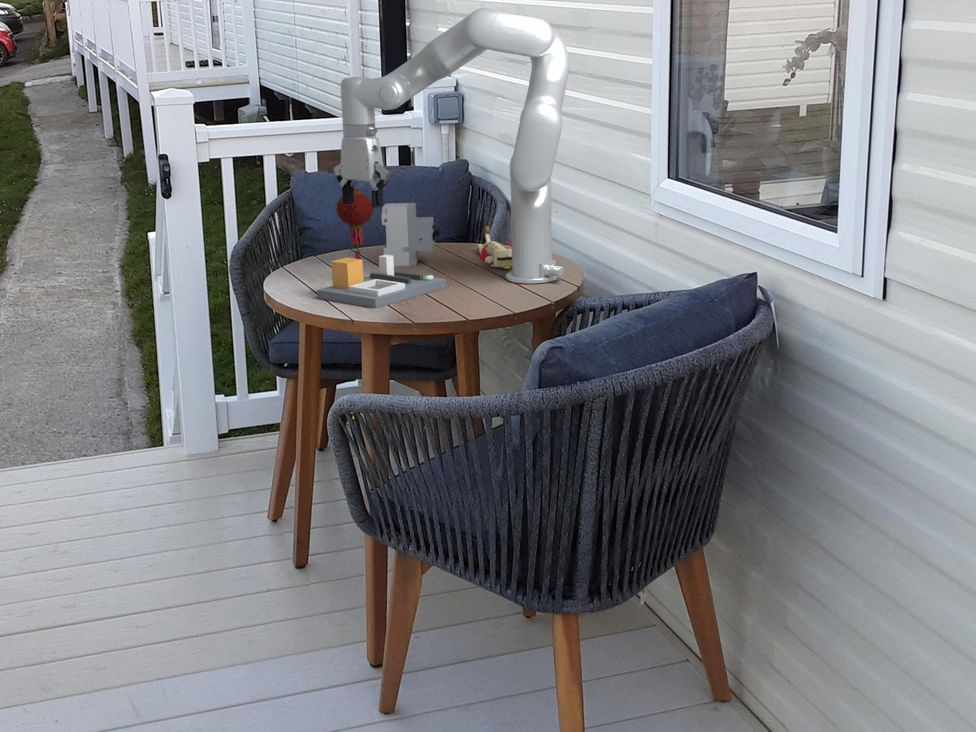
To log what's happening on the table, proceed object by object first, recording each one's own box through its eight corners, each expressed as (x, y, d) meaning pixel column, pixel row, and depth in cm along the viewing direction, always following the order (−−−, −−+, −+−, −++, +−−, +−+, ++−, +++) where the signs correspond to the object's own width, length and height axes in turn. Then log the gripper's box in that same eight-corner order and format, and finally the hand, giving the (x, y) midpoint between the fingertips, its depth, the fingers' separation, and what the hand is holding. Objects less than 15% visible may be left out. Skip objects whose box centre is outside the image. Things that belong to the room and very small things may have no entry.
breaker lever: (394, 276, 277) (393, 255, 275) (387, 278, 275) (386, 257, 273) (386, 275, 278) (385, 254, 277) (379, 277, 276) (378, 256, 275)
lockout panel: (445, 287, 274) (445, 273, 273) (375, 308, 256) (374, 293, 255) (389, 278, 285) (388, 266, 284) (317, 298, 266) (317, 284, 266)
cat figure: (468, 259, 312) (488, 270, 288) (467, 226, 310) (487, 234, 287) (505, 257, 314) (527, 267, 290) (503, 224, 312) (526, 232, 289)
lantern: (371, 271, 293) (364, 151, 285) (335, 271, 295) (327, 151, 286) (381, 264, 302) (375, 146, 294) (346, 263, 304) (339, 147, 295)
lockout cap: (363, 285, 269) (362, 259, 267) (348, 289, 265) (347, 263, 264) (348, 282, 272) (346, 257, 270) (332, 286, 268) (331, 261, 267)
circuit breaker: (439, 265, 299) (437, 206, 295) (384, 266, 299) (381, 208, 295) (441, 259, 306) (439, 202, 302) (387, 260, 307) (384, 203, 302)
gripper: (397, 131, 269) (400, 206, 274) (344, 128, 279) (348, 200, 284) (374, 134, 263) (378, 210, 268) (321, 131, 274) (326, 204, 279)
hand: (363, 205), depth 276 cm, fingers open, 9 cm apart
